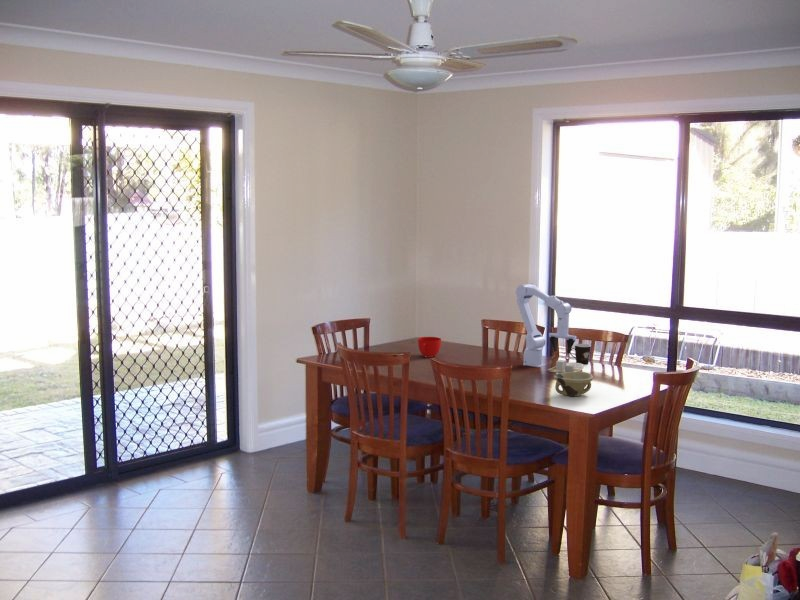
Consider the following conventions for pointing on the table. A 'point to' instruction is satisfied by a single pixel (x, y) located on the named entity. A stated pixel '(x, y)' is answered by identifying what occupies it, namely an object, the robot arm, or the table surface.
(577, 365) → the dish
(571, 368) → the stone
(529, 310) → the robot arm
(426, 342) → the ceramic cup
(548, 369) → the tray
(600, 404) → the table surface
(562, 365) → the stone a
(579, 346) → the coffee mug
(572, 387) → the bowl
